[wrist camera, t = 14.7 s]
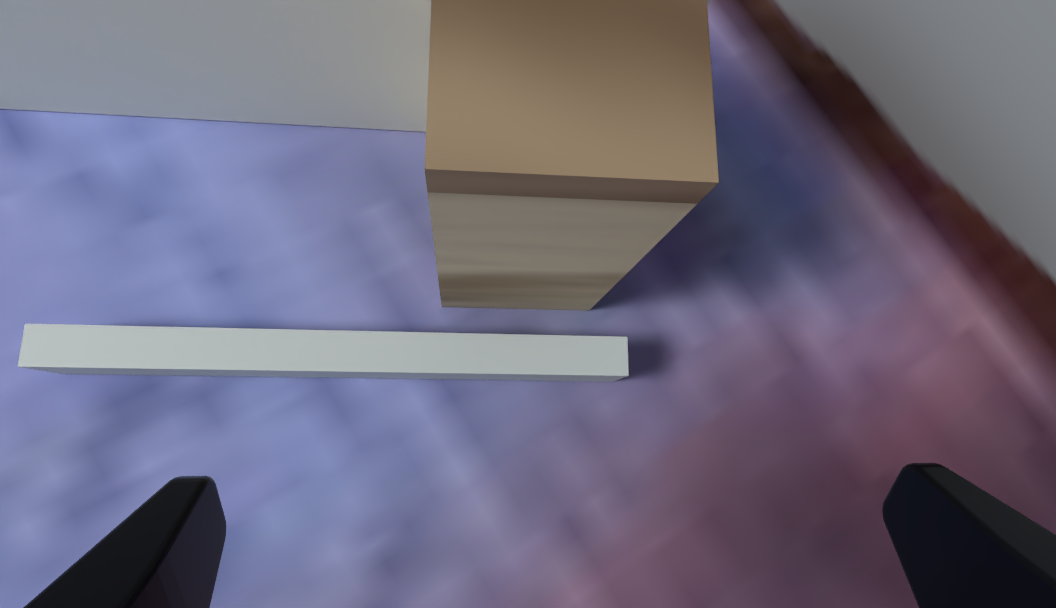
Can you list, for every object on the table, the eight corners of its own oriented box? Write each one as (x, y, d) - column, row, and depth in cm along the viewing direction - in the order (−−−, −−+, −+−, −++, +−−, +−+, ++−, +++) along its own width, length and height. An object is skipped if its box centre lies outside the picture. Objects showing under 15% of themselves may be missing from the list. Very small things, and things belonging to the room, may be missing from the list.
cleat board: (636, 382, 21) (958, 277, 7) (-81, 372, 19) (-1490, 195, 5) (624, 17, 24) (840, -534, 10) (2, -30, 22) (-759, -813, 8)
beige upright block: (589, 310, 21) (718, 182, 11) (442, 306, 21) (425, 168, 10) (586, 148, 23) (699, -110, 12) (446, 141, 22) (436, -136, 12)
